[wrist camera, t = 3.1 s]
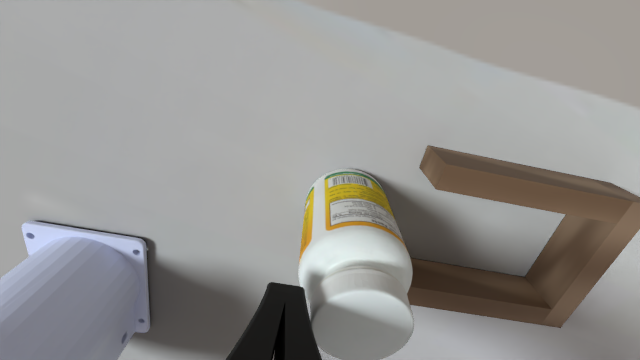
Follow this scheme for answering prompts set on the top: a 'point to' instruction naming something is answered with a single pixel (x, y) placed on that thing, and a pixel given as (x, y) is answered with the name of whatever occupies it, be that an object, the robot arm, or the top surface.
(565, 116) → the top surface
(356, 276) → the supplement bottle
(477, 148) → the top surface
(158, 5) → the top surface
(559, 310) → the u rest
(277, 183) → the top surface
